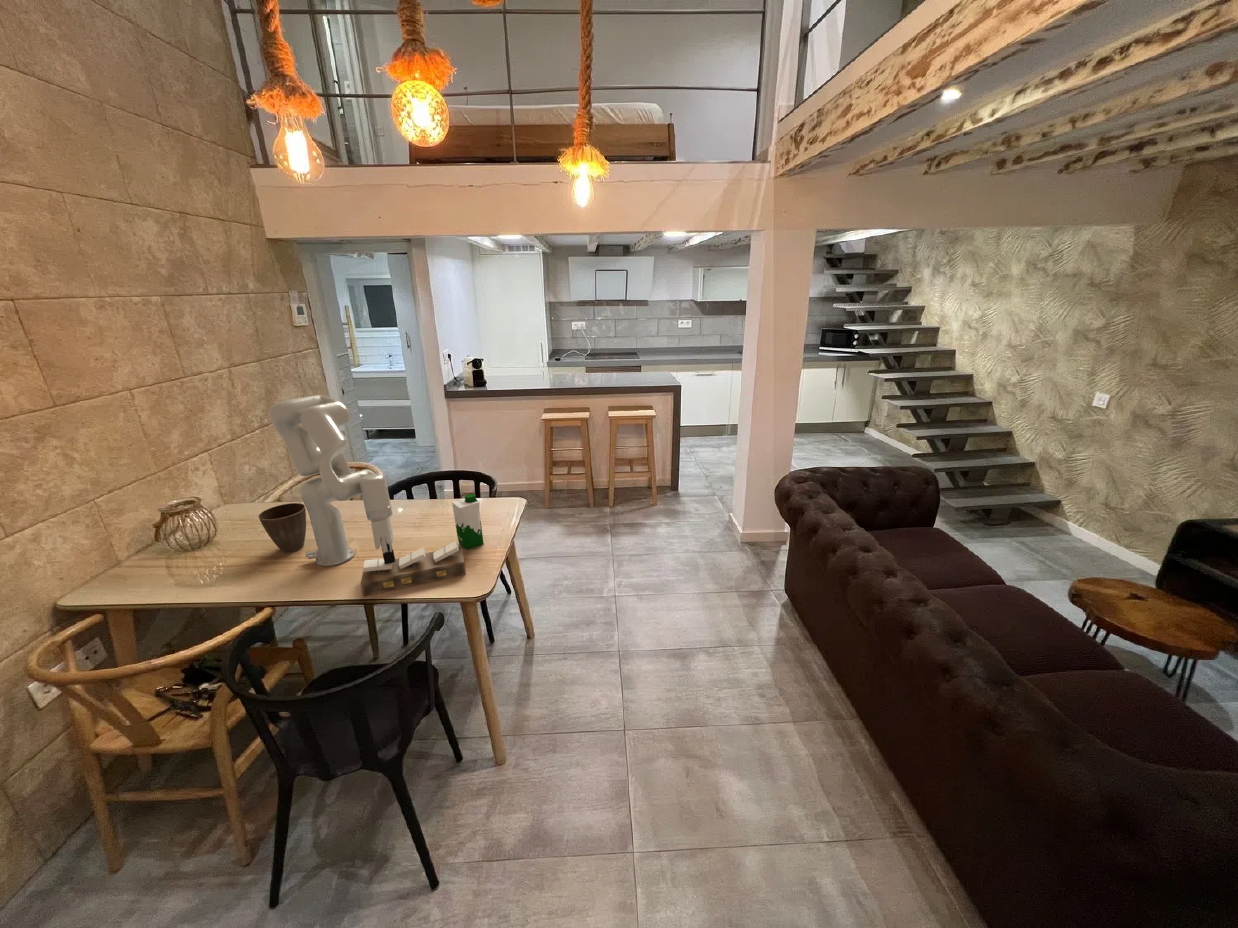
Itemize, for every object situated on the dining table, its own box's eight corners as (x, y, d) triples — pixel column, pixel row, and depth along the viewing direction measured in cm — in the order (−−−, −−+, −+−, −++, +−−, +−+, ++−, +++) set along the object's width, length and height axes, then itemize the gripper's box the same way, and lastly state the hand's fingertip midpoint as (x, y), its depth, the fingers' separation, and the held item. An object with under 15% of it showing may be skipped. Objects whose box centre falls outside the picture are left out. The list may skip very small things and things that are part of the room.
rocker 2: (401, 569, 162) (398, 565, 161) (401, 561, 166) (399, 558, 166) (425, 557, 164) (422, 553, 163) (424, 550, 168) (422, 546, 168)
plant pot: (292, 559, 180) (282, 520, 175) (259, 556, 183) (248, 517, 178) (323, 540, 194) (314, 504, 189) (292, 537, 197) (282, 501, 192)
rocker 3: (435, 562, 166) (433, 559, 165) (435, 555, 170) (433, 552, 170) (458, 550, 167) (456, 546, 167) (457, 543, 172) (455, 540, 171)
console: (363, 596, 156) (359, 580, 154) (366, 577, 167) (363, 562, 165) (466, 574, 167) (463, 559, 165) (462, 558, 178) (460, 543, 176)
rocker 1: (363, 571, 157) (363, 567, 157) (364, 563, 162) (364, 559, 161) (391, 569, 161) (391, 564, 160) (392, 561, 165) (392, 557, 165)
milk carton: (486, 544, 188) (480, 497, 181) (464, 552, 182) (457, 503, 176) (477, 536, 194) (471, 490, 188) (455, 544, 189) (448, 496, 182)
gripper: (368, 505, 161) (379, 554, 167) (364, 523, 148) (376, 575, 154) (392, 501, 164) (402, 549, 170) (390, 518, 151) (401, 569, 156)
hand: (390, 561), depth 162 cm, fingers closed
